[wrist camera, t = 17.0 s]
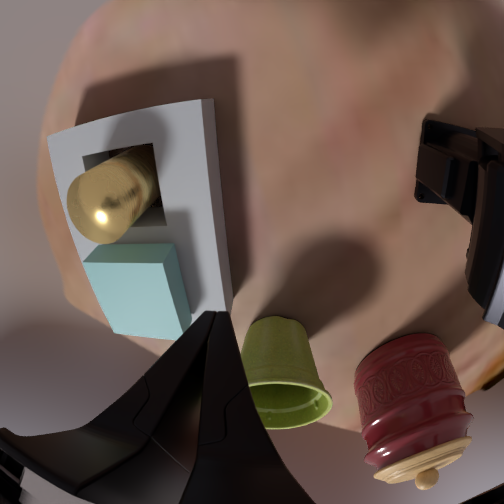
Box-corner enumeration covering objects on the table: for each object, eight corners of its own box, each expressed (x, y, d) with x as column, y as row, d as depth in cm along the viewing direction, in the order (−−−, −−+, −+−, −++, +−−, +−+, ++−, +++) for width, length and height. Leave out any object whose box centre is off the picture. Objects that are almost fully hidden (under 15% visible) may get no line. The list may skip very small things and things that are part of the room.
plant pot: (298, 286, 24) (304, 369, 17) (335, 344, 28) (346, 415, 21) (212, 321, 27) (195, 396, 20) (261, 369, 31) (256, 434, 24)
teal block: (174, 243, 18) (162, 263, 16) (192, 318, 22) (185, 340, 20) (98, 244, 19) (82, 262, 17) (124, 313, 22) (114, 332, 20)
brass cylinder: (166, 141, 18) (118, 167, 12) (174, 197, 21) (136, 243, 15) (115, 149, 19) (59, 178, 13) (125, 201, 21) (78, 244, 15)
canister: (445, 364, 30) (477, 468, 15) (366, 399, 35) (380, 505, 20) (439, 313, 25) (495, 453, 10) (337, 359, 30) (353, 506, 15)
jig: (213, 98, 16) (200, 99, 14) (233, 298, 25) (228, 326, 22) (73, 127, 18) (46, 136, 15) (119, 293, 26) (105, 316, 23)
